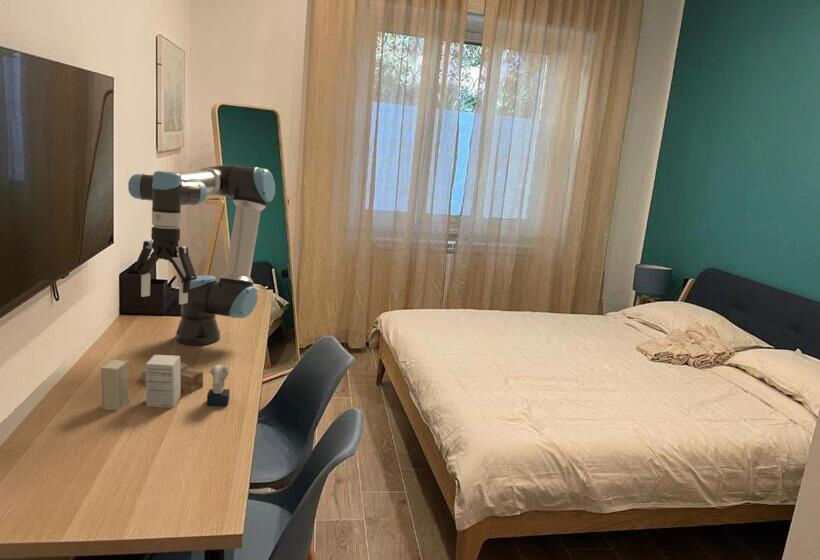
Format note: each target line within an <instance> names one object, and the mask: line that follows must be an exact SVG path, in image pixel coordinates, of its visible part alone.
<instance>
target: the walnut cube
mask: <svg viewBox="0 0 820 560" xmlns="http://www.w3.org/2000/svg"><path fill="white" fill-rule="evenodd" d="M180 387H181V392H186V391H187V392H186V393H191V394H192V392H193V393H194V392H196V391H198V390H200V389H201V388H202V389H203V388H204V371H201V370H198V369H194V368H189V367H188V369H187V370H184V371H182V372H180Z"/></svg>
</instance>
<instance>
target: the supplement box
mask: <svg viewBox="0 0 820 560" xmlns="http://www.w3.org/2000/svg"><path fill="white" fill-rule="evenodd" d="M180 362H181V356H180V355H170V354H153V355H152V357H150V359H149V360H148V361H147V362H146V363H145V370H146V382H145V394H146V395H145V396H146V397H145V399H146V407H149V408H167V409H169V408H170V409H172V408H173V409H174V407H175V406H176V404H177V403H178V401H179V399H180V398H181V392H182V390H181V387H180Z"/></svg>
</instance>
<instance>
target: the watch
mask: <svg viewBox="0 0 820 560" xmlns="http://www.w3.org/2000/svg"><path fill="white" fill-rule="evenodd" d="M229 372H230V369H229V367H228V366H227V365H224V364H215V365H213V366H212V367H211V369H210V370H209V372H208V373H210V374H211V375H212V377H213V379H212V381H213V382H212V388H209V389H208V392H207V394H206V395H207V396H206V407H222V406H223V407H228V406H229V403H228V402H229V401H230V391H231V390H230V388H228V389H227V388H226V389H225V388H224V387H225V380H227V377H228V375H229ZM227 405H228V406H227Z"/></svg>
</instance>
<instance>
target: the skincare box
mask: <svg viewBox="0 0 820 560" xmlns="http://www.w3.org/2000/svg"><path fill="white" fill-rule="evenodd" d="M100 368H101V369H100V372H101V373H100V374H101V375H100V376H101V406H102V407H101V409H102V410H108V411H120V410H121V409H122V408H123V407H124V406H125V405H126V404H127V403H129V400H130V399H129V360H123V359H113V358H112V359H111V360H109V361H108V362H107V363H106V364H104V365H102V366H101V367H100Z"/></svg>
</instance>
